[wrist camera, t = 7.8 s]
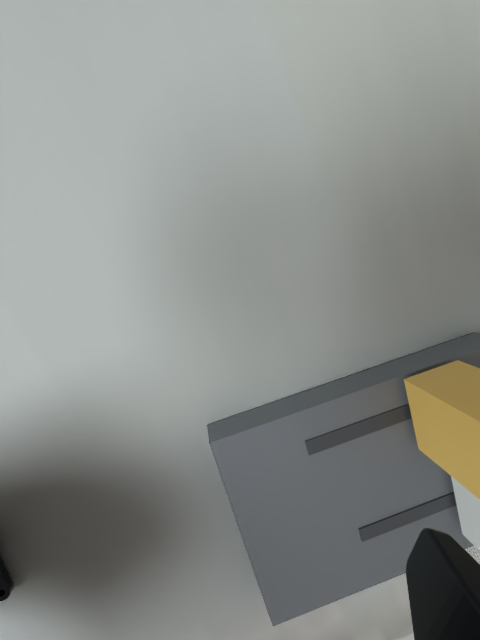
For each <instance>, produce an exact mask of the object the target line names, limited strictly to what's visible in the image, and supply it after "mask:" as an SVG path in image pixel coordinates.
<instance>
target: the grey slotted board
mask: <svg viewBox="0 0 480 640" xmlns="http://www.w3.org/2000/svg"><path fill="white" fill-rule="evenodd" d="M457 360H459V361H461V362H464V363H467V364H469V365H472V366H475V367H477V368H480V334H478V333H471V334H468V335H465V336H462V337H459V338H456V339H453V340H451V341H448V342H445V343H442V344H439V345H436V346H433V347H430V348H427V349H425V350H422V351H419V352H416V353H413V354H410V355H407V356H404V357H402V358H399V359H396V360H393V361H390V362H387V363H384V364H381V365H378V366H376V367H373V368H370V369H367V370H364V371H361V372H358V373H355V374H352V375H350V376H347V377H344V378H341V379H338V380H335V381H332V382H329V383H326V384H324V385H321V386H318V387H315V388H312V389H309V390H306V391H303V392H300V393H298V394H295V395H292V396H289V397H286V398H283V399H280V400H277V401H274V402H272V403H269V404H266V405H263V406H260V407H257V408H254V409H251V410H248V411H246V412H243V413H240V414H237V415H234V416H231V417H228V418H225V419H222V420H220V421H217V422H214V423H211V424H208V425H207V427H208V435H209V443H210V446H211V449H212V452H213V455H214V457H215V460H216V463H217V466H218V469H219V472H220V475H221V478H222V481H223V483H224V486H225V489H226V492H227V495H228V498H229V501H230V504H231V507H232V509H233V512H234V515H235V518H236V521H237V524H238V527H239V530H240V533H241V535H242V538H243V541H244V544H245V547H246V550H247V553H248V556H249V559H250V561H251V564H252V567H253V570H254V573H255V576H256V579H257V582H258V585H259V587H260V590H261V593H262V596H263V599H264V602H265V605H266V608H267V611H268V613H269V616H270V619H271V622H272V625H273V626H275V625H277V624H280V623H282V622H285V621H287V620H290V619H292V618H295V617H297V616H300V615H302V614H305V613H307V612H310V611H312V610H315V609H317V608H319V607H322V606H324V605H327V604H329V603H332V602H334V601H337V600H339V599H342V598H344V597H347V596H349V595H352V594H354V593H357V592H359V591H362V590H364V589H367V588H369V587H372V586H374V585H377V584H379V583H382V582H384V581H387V580H389V579H392V578H394V577H396V576H399V575H401V574H404V573H406V564H407V560H408V557H409V555H410V553H411V551H412V549H413V547H414V544H415V542H416V540H417V538H418V536H419V534H420V532H421V531H422V530H423V529H424V528H432V529H435V530H438V531H442V532H445V533H447V534H449V535H450V536H451V537H452V538H453V539H454V540H455V541H456V542H457V543H458V544H459V545H460V546H461V547H462V548H463V549H466V548H468V547H471V546H473V544H472V543H471V542H470V541H469V540H468V539H467V538H466V537H465V536H464V535H463V534H462V530H461V525H460V520H459V515H458V509H457V504H456V499H455V494H454V489H453V484H452V479H451V475H449V474H448V473H447V472H446V471H445V470H443V469H442V468H441V467H440V466H438V465H437V464H436V463H435V462H434V461H432V460H431V459H430V458H429V457H428V456H426V455H425V454H424V453H423V452H422V451H420V450H419V449H418V444H417V439H416V435H415V430H414V425H413V421H412V416H411V411H410V407H409V402H408V398H407V393H406V388H405V384H404V379H406V378H408V377H411V376H414V375H417V374H420V373H423V372H426V371H428V370H431V369H434V368H437V367H440V366H443V365H445V364H448V363H451V362H454V361H457Z"/></svg>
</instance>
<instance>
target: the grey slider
mask: <svg viewBox="0 0 480 640" xmlns="http://www.w3.org/2000/svg"><path fill="white" fill-rule="evenodd" d="M451 479H452V484H453V489H454V494H455V499H456V504H457V509H458V515H459V520H460V525H461V530H462V534H463V535H464V536H465V537H466V538H467V539H468V540H469V541H470V542H471V543H472V544H473V545H474V546H475V547H476V548H477V549H478V550H479V551H480V499H478V498H477V497H476V496H475V495H474V494H472V493H471V492H470V491H469V490H468V489H466V488H465V487H464V486H463V485H462V484H460V483H459V482H458V481H457V480H455V479H454V478H453V477H452V476H451Z"/></svg>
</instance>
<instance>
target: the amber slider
mask: <svg viewBox="0 0 480 640" xmlns="http://www.w3.org/2000/svg"><path fill="white" fill-rule="evenodd" d="M404 384H405V388H406V393H407V398H408V402H409V407H410V411H411V416H412V421H413V425H414V430H415V435H416V439H417V444H418V449H419V450H420V451H422V452H423V453H424V454H425V455H426V456H428V457H429V458H430V459H431V460H432V461H434V462H435V463H436V464H437V465H438V466H440V467H441V468H442V469H443V470H445V471H446V472H447V473H448V474H449V475H451V476H452V477H453V478H454V479H455V480H457V481H458V482H459V483H460V484H462V485H463V486H464V487H465V488H466V489H468V490H469V491H470V492H471V493H472V494H474V495H475V496H476V497H477V498H478V499H480V368H477V367H475V366H472V365H469V364H467V363H464V362H461V361H459V360H457V361H454V362H451V363H448V364H445V365H443V366H440V367H437V368H434V369H431V370H428V371H426V372H423V373H420V374H417V375H414V376H411V377H408V378H406V379H404Z"/></svg>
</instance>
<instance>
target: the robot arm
mask: <svg viewBox="0 0 480 640" xmlns="http://www.w3.org/2000/svg"><path fill="white" fill-rule="evenodd" d="M406 577H407V585H408V593H409V600H410V608H411V616H412V624H413V631H414V639H415V640H480V565H479V564H478V563H477V562H476V561H475V560H474V559H473V558H472V557H471V556H470V555H469V554H468V553H467V552H466V551H465V550H464V549H463V548H462V547H461V546H460V545H459V544H458V543H457V542H456V541H455V540H454V539H453V538H452V537H451V536H450V535H449V534H447V533H445V532H442V531H438V530H435V529H432V528H424V529H423V530H422V531H421V532H420V534H419V536H418V538H417V540H416V542H415V544H414V547H413V549H412V551H411V553H410V555H409V557H408V560H407V564H406ZM13 586H14V585H13V582H12V580H11V578H10V576H9V574H8V572H7V570H6V568H5V566H4V564H3V562H2V560H1V558H0V588H1V589H3V590H0V601H3V600H5V599H7V598H8V596H9V595H10V593H11V591H12V589H13Z"/></svg>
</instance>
